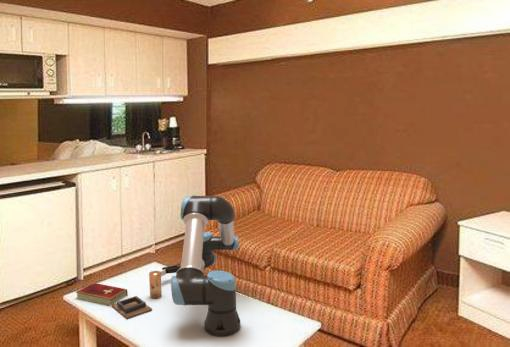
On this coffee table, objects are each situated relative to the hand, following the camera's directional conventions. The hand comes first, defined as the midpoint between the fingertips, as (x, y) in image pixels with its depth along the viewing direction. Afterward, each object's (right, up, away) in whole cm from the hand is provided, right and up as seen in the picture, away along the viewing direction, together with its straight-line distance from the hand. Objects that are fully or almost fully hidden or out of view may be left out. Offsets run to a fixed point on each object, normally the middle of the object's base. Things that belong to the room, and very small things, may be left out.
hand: (165, 279), depth 212 cm
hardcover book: (-30, -8, -5) cm, 31 cm away
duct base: (-12, -9, -17) cm, 23 cm away
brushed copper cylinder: (-4, -7, -5) cm, 9 cm away
